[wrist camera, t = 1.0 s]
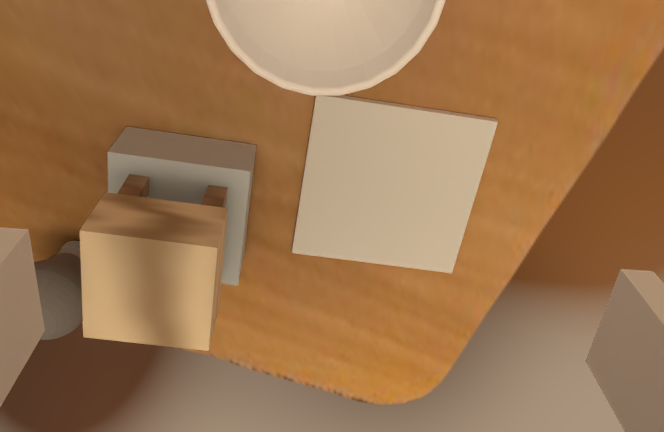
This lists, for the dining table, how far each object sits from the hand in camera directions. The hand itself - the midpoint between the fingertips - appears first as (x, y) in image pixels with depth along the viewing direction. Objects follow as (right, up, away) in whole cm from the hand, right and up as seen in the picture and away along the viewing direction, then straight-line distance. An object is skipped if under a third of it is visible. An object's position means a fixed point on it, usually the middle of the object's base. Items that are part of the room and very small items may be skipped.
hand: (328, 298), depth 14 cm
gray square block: (-12, +4, +37) cm, 39 cm away
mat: (+5, +4, +37) cm, 37 cm away
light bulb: (-22, -1, +39) cm, 45 cm away
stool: (-12, +1, +32) cm, 34 cm away
